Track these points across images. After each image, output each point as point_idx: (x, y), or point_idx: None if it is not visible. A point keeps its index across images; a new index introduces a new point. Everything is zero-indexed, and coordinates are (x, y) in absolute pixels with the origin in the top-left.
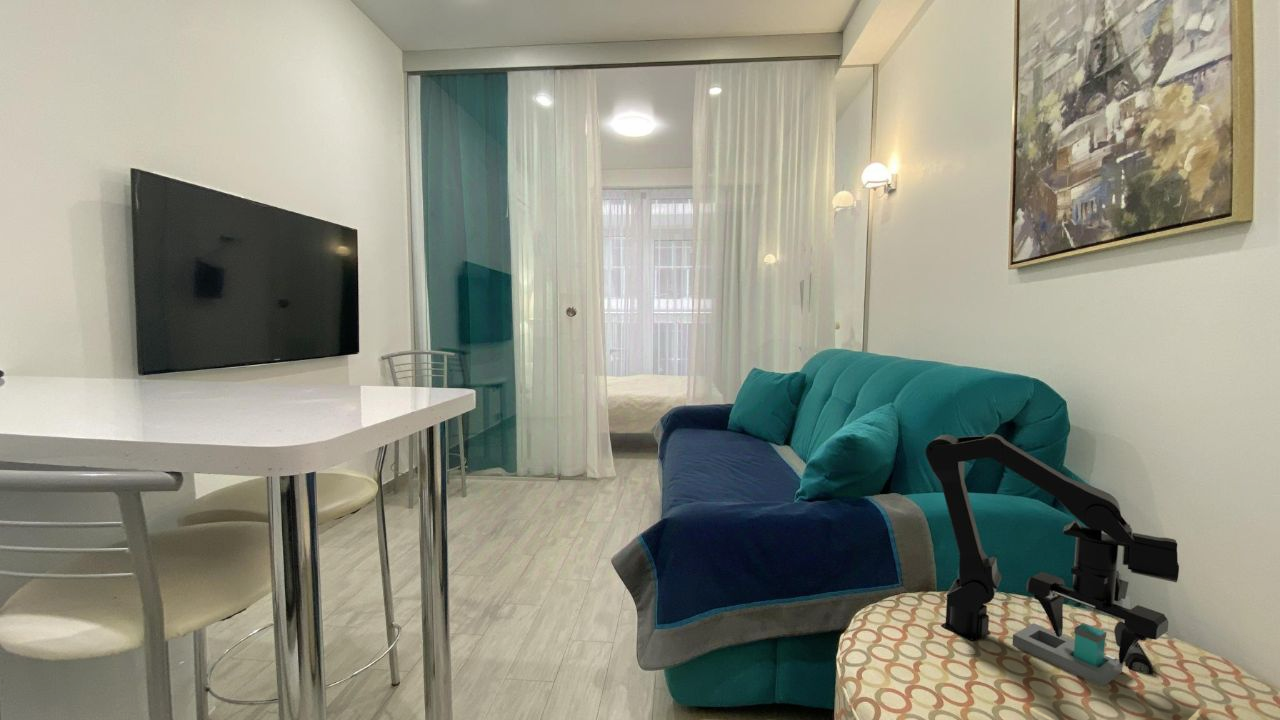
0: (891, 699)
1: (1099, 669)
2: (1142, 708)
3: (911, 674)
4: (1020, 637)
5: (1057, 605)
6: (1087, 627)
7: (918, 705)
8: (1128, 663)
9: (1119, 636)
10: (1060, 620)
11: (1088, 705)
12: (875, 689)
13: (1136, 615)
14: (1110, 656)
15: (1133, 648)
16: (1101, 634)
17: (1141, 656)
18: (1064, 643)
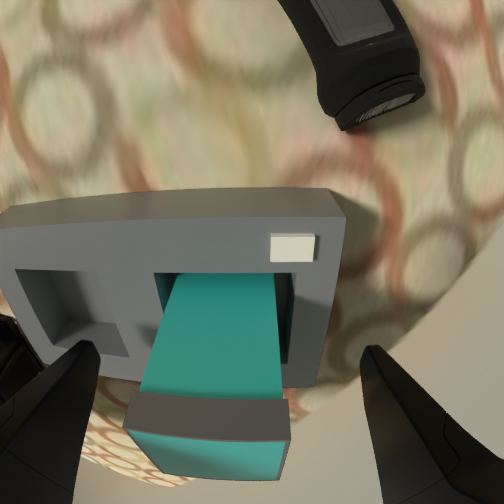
0: (161, 483)
1: (293, 371)
2: (399, 337)
3: (125, 462)
4: None
5: (34, 495)
6: (183, 455)
7: (177, 482)
8: (339, 111)
9: None
10: (61, 417)
11: (302, 409)
12: (143, 479)
13: None
14: (292, 247)
15: None
16: (280, 465)
17: (397, 57)
18: (107, 294)
